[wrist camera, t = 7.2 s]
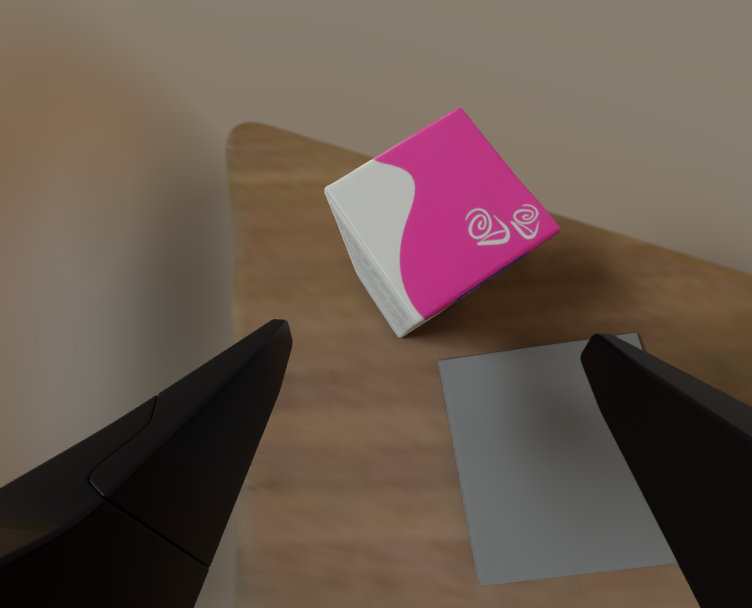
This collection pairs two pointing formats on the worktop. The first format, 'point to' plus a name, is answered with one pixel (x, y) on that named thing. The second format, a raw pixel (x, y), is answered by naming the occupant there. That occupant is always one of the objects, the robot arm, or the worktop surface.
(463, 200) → the supplement box
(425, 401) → the worktop surface
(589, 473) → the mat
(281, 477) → the worktop surface
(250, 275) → the worktop surface
